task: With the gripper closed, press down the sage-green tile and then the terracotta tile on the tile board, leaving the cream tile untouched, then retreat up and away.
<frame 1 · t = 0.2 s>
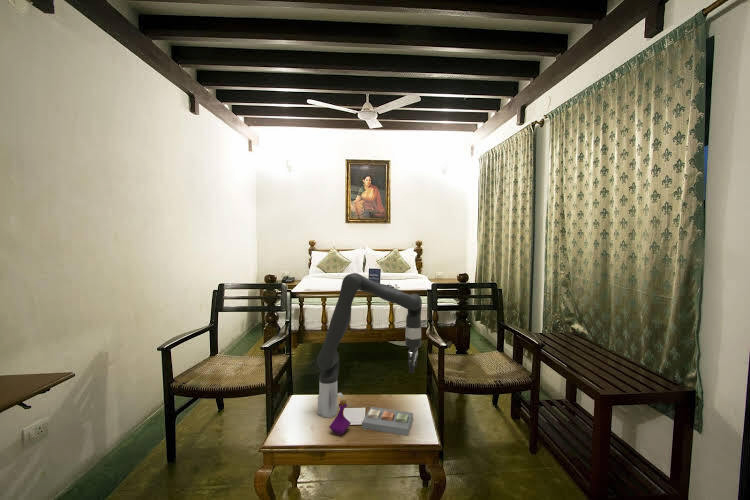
hand: (413, 369, 159), 27 cm above the table, fingers open, 8 cm apart
sage tile: (402, 418, 159), point 3 cm above the table, slide at 0.0 cm
perfume bottle: (340, 432, 154), on the table
cream tile: (374, 414, 163), point 3 cm above the table, slide at 0.0 cm
terracotta tile: (388, 416, 161), point 4 cm above the table, slide at 0.0 cm
tile board: (388, 423, 161), on the table
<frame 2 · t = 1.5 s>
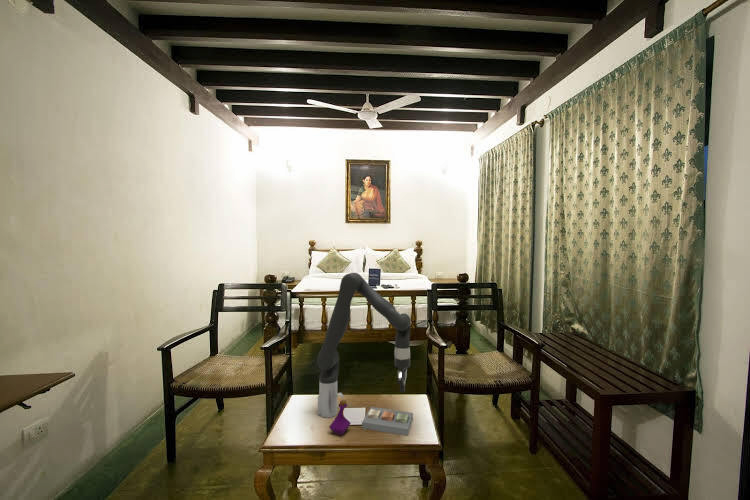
hand: (402, 391, 159), 17 cm above the table, fingers closed
nothing on the table moved.
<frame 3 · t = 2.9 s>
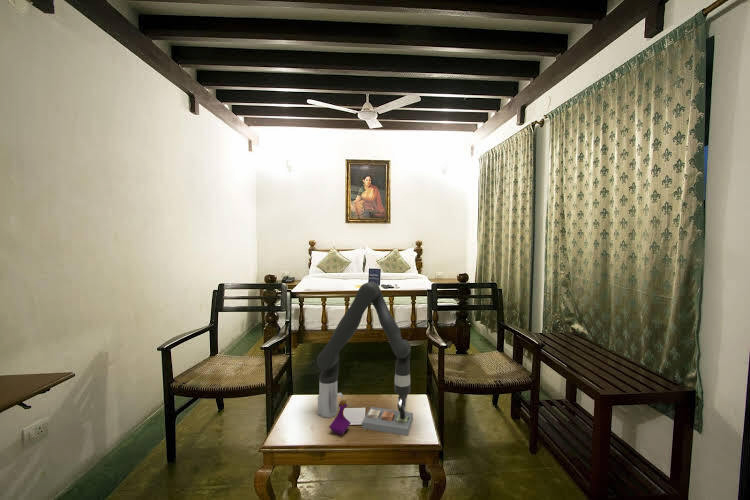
hand: (402, 418, 159), 4 cm above the table, fingers closed
sage tile: (402, 420, 160), point 3 cm above the table, slide at 0.8 cm, touching gripper
everything else where it was.
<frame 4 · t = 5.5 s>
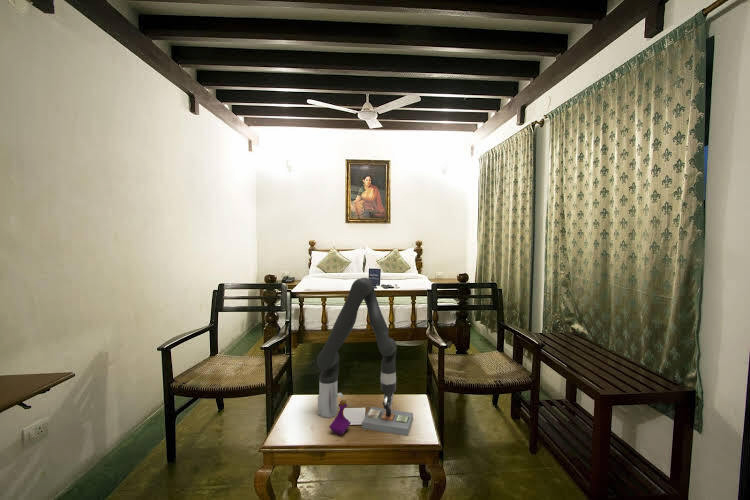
hand: (388, 415, 161), 4 cm above the table, fingers closed
sage tile: (402, 420, 160), point 2 cm above the table, slide at 1.0 cm
terracotta tile: (388, 417, 161), point 3 cm above the table, slide at 0.6 cm, touching gripper
everything else where it was.
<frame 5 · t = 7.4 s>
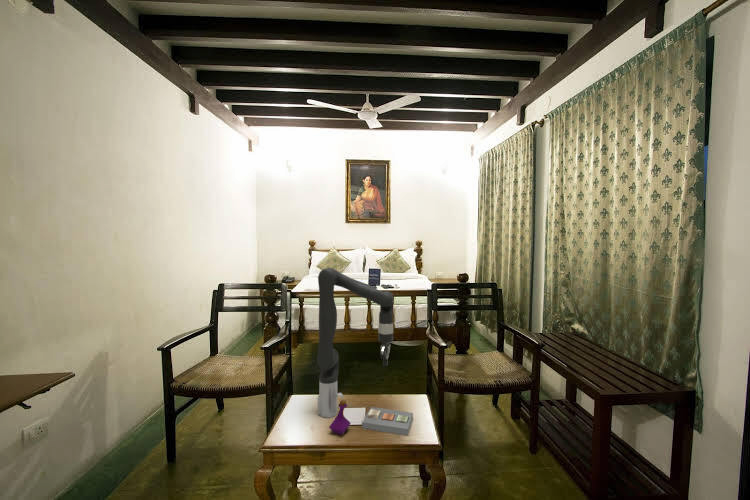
hand: (385, 365, 166), 26 cm above the table, fingers closed
terracotta tile: (388, 418, 161), point 2 cm above the table, slide at 1.0 cm
everything else where it was.
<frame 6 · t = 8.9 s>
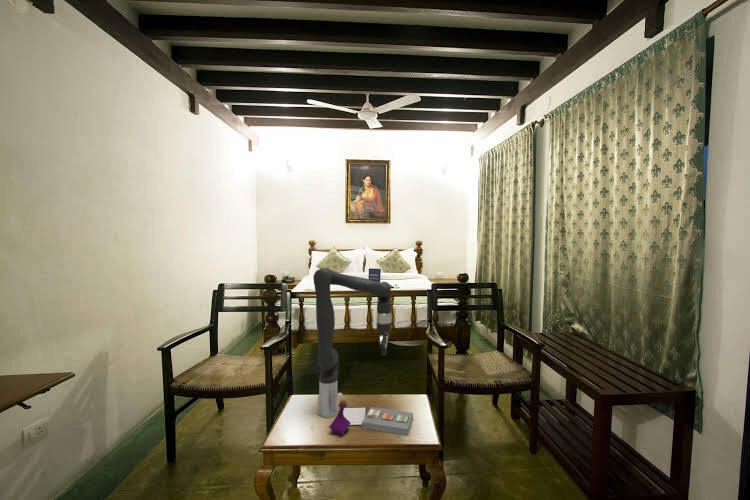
hand: (383, 355, 169), 31 cm above the table, fingers closed
nothing on the table moved.
at the end: sage tile slide at 1.0 cm; terracotta tile slide at 1.0 cm; cream tile slide at 0.0 cm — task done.
